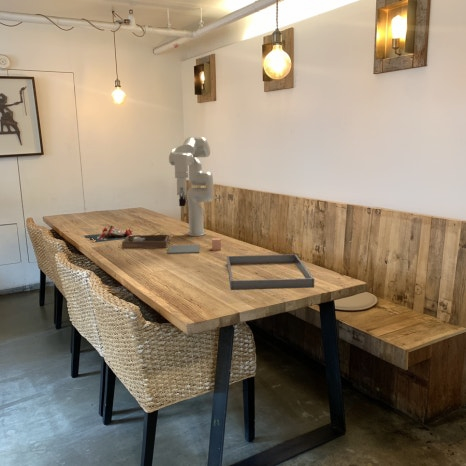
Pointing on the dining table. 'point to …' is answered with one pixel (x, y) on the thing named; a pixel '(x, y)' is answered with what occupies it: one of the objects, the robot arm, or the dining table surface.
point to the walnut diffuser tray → (146, 242)
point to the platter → (110, 235)
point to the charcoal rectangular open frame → (269, 283)
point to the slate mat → (183, 249)
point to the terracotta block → (216, 243)
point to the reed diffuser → (142, 238)
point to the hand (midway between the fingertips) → (182, 204)
